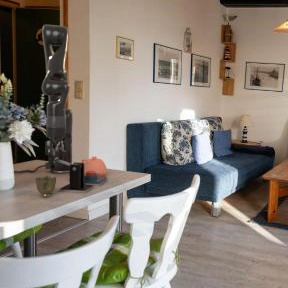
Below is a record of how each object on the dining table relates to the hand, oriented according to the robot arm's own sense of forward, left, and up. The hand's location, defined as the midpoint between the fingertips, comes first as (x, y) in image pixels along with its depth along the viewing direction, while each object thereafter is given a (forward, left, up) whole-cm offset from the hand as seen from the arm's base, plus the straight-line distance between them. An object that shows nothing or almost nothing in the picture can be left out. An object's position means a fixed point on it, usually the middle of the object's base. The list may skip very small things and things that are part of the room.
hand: (56, 162), depth 165 cm
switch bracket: (+9, 0, -12) cm, 15 cm away
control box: (+10, +13, -12) cm, 20 cm away
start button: (+10, +13, -8) cm, 18 cm away
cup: (+2, -13, -12) cm, 18 cm away
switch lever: (+4, 0, -1) cm, 5 cm away
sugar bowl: (+6, +26, -12) cm, 29 cm away
